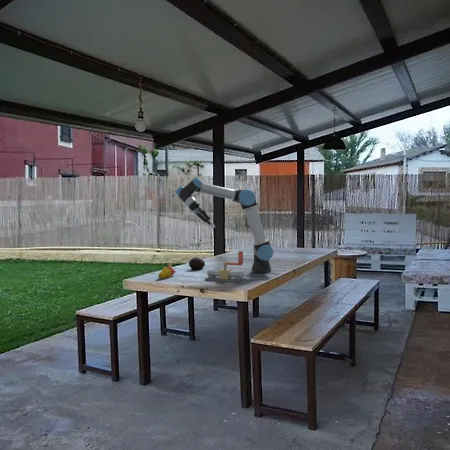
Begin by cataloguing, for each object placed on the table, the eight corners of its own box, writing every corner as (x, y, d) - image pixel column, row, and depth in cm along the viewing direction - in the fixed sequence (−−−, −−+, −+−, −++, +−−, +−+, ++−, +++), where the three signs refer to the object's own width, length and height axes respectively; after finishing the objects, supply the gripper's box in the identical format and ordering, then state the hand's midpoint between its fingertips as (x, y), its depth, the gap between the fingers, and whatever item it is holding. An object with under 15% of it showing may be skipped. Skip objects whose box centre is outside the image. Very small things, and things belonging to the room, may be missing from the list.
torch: (159, 285, 342) (170, 275, 366) (168, 280, 340) (178, 270, 364) (153, 275, 341) (164, 265, 365) (162, 270, 339) (173, 261, 363)
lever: (222, 264, 335) (221, 250, 335) (224, 264, 338) (224, 250, 338) (241, 265, 328) (241, 251, 328) (243, 265, 331) (243, 251, 330)
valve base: (212, 278, 347) (211, 263, 347) (246, 280, 337) (245, 264, 336) (204, 280, 336) (204, 265, 336) (239, 282, 326) (239, 267, 325)
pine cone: (206, 267, 398) (206, 255, 398) (199, 271, 381) (199, 258, 380) (194, 267, 401) (194, 255, 400) (187, 270, 384) (187, 258, 383)
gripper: (193, 207, 358) (214, 230, 352) (184, 208, 346) (206, 231, 340) (199, 200, 355) (221, 223, 349) (191, 200, 343) (213, 224, 337)
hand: (213, 227), depth 345 cm, fingers closed
